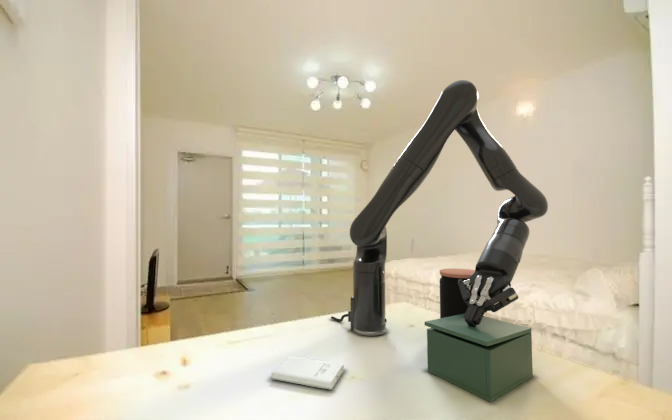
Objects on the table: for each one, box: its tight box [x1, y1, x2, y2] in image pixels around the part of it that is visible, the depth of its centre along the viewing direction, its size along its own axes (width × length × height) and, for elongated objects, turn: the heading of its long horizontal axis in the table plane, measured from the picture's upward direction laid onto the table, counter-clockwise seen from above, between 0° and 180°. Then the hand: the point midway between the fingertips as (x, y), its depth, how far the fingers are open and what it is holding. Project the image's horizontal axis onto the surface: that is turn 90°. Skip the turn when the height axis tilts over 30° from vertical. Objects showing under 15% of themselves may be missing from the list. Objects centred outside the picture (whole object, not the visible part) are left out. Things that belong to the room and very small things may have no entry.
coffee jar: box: [439, 268, 475, 319], centre depth 82 cm, size 11×11×18 cm
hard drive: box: [271, 355, 345, 391], centre depth 63 cm, size 2×8×12 cm
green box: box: [426, 327, 534, 403], centre depth 64 cm, size 16×14×9 cm
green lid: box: [424, 313, 532, 346], centre depth 64 cm, size 16×14×1 cm
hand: (470, 323), depth 62 cm, fingers closed
